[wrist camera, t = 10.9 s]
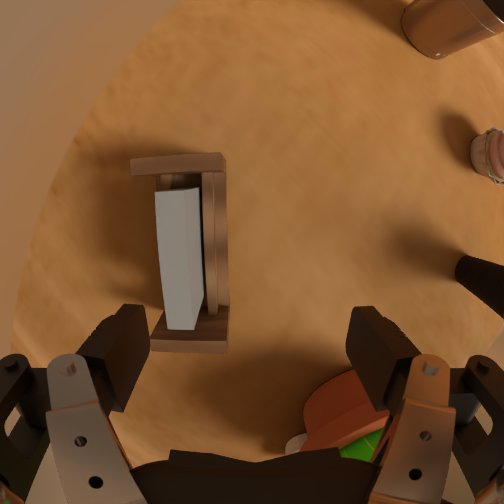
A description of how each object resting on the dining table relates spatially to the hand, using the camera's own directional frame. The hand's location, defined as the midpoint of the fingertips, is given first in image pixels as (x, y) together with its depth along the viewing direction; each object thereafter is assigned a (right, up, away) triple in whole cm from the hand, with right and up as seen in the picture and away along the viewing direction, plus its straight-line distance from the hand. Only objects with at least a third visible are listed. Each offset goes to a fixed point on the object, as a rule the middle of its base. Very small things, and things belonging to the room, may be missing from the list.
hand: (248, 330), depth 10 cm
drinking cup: (+35, 0, +26) cm, 44 cm away
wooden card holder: (-7, +4, +23) cm, 24 cm away
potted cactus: (+17, -23, +31) cm, 43 cm away
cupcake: (+37, +18, +21) cm, 47 cm away
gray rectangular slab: (-7, +4, +22) cm, 23 cm away
